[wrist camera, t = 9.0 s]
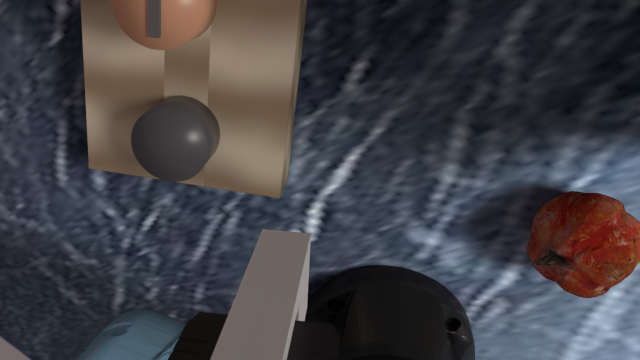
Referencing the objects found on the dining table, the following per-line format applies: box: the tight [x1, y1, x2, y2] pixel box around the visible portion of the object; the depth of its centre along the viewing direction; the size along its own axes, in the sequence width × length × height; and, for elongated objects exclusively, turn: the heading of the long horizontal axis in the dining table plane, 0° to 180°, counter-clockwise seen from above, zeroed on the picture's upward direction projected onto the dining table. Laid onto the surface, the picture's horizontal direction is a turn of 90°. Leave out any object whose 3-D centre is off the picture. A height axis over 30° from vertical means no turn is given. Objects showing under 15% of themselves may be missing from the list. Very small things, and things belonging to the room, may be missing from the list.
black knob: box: [131, 96, 220, 182], centre depth 37 cm, size 5×5×7 cm
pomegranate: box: [527, 191, 640, 298], centre depth 38 cm, size 7×7×10 cm
